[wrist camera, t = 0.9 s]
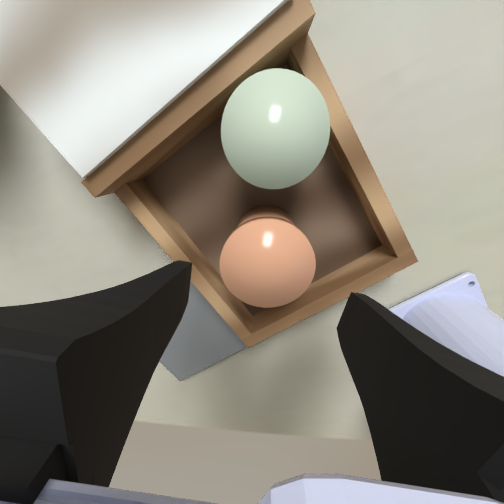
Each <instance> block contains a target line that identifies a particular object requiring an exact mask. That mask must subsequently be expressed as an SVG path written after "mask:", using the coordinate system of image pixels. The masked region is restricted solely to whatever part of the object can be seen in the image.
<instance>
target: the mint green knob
mask: <svg viewBox="0 0 504 504" xmlns="http://www.w3.org/2000/svg"><path fill="white" fill-rule="evenodd" d="M329 137H330V117H329V112H328V108H327V105H326V102H325V100H324V98H323V96H322V94H321V93H320V91H319V90H318V88H317V87H316V86H315V85H314V84H313V83H312V82H311V81H310V80H309V79H308V78H306V77H305V76H303V75H301V74H299V73H297V72H295V71H292V70H288V69H281V68H274V69H267V70H263V71H260V72H257V73H255V74H254V75H252V76H250V77H248V78H247V79H246V80H244V81H243V82H242V83H241V84H240V85H239V86H238V87H237V88H236V89H235V91H234V92H233V93H232V95H231V97H230V98H229V100H228V102H227V104H226V106H225V109H224V113H223V116H222V122H221V140H222V146H223V149H224V153H225V155H226V157H227V160H228V161H229V163H230V165H231V166H232V168H233V169H234V170H235V172H236V173H237V174H238V175H239V176H240V177H242V178H243V179H244V180H245V181H247V182H249V183H250V184H252V185H255V186H257V187H261V188H265V189H282V188H286V187H290V186H292V185H295V184H297V183H299V182H300V181H302V180H304V179H305V178H306V177H308V176H309V175H310V174H311V173H312V172H313V171H314V170H315V168H316V167H317V166H318V164H319V163H320V161H321V160H322V158H323V156H324V154H325V151H326V148H327V145H328V141H329Z"/></svg>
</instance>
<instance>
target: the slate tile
mask: <svg viewBox="0 0 504 504" xmlns="http://www.w3.org/2000/svg"><path fill="white" fill-rule="evenodd" d="M246 347H247V346H246V345H245V344H244V342H243V341H242V340H241V339H240V338H239V337H238V335H237V334H236V333H235V332H234V331H233V330H232V328H231V327H230V326H229V325H228V324H227V323H226V322H225V320H224V319H223V318H222V317H221V316H220V315H219V313H218V312H217V311H216V310H215V309H214V308H213V306H212V305H211V304H210V303H209V302H208V301H207V299H206V298H205V297H204V296H203V295H202V294H201V292H200V291H199V290H198V289H197V288H196V287H195V285H194V284H193V283H192V282H191V281H190V290H189V299H188V304H187V306H186V309H185V312H184V314H183V317H182V320H181V322H180V324H179V326H178V327H177V329H176V331H175V333H174V335H173V337H172V339H171V340H170V342H169V344H168V346H167V348H166V350H165V351H164V353H163V355H162V357H161V359H160V362H161V363H162V364H163V365H164V366H165V367H166V368H167V369H168V370H169V371H170V372H171V373H172V374H173V375H174V376H175V377H176V378H177V379H178V380H179V381H181V380H183V379H185V378H187V377H189V376H191V375H193V374H195V373H197V372H199V371H201V370H203V369H205V368H207V367H209V366H211V365H213V364H215V363H217V362H219V361H221V360H223V359H225V358H227V357H229V356H230V355H232V354H234V353H236V352H238V351H240V350H242V349H244V348H246Z"/></svg>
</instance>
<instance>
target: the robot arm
mask: <svg viewBox="0 0 504 504" xmlns="http://www.w3.org/2000/svg"><path fill="white" fill-rule="evenodd" d="M191 271H192V263H191V262H186V261H181V260H178V261H175V262H173V263H171V264H168V265H166V266H164V267H162V268H160V269H158V270H156V271H153V272H151V273H149V274H147V275H144V276H142V277H139V278H137V279H134V280H132V281H129V282H127V283H124V284H121V285H118V286H115V287H112V288H108V289H105V290H101V291H98V292H94V293H89V294H85V295H80V296H76V297H71V298H66V299H61V300H55V301H49V302H42V303H35V304H27V305H19V306H8V307H0V504H216V503H210V502H203V501H196V500H189V499H183V498H176V497H169V496H162V495H156V494H149V493H142V492H136V491H129V490H122V489H115V488H109V484H110V482H111V479H112V476H113V473H114V471H115V468H116V465H117V462H118V460H119V457H120V455H121V452H122V450H123V447H124V444H125V441H126V439H127V437H128V434H129V431H130V429H131V426H132V424H133V421H134V419H135V416H136V414H137V411H138V409H139V406H140V404H141V401H142V399H143V396H144V394H145V392H146V389H147V387H148V384H149V382H150V380H151V377H152V375H153V373H154V371H155V368H156V366H157V364H158V362H159V361H160V359H161V357H162V355H163V353H164V351H165V350H166V348H167V346H168V344H169V342H170V340H171V339H172V337H173V335H174V333H175V331H176V329H177V327H178V326H179V324H180V322H181V320H182V317H183V314H184V312H185V309H186V306H187V304H188V299H189V290H190V281H191ZM469 282H471V283H470V284H468V283H469ZM337 332H338V337H339V342H340V346H341V349H342V352H343V355H344V358H345V360H346V363H347V365H348V368H349V371H350V373H351V376H352V378H353V381H354V383H355V386H356V389H357V391H358V394H359V396H360V399H361V402H362V405H363V408H364V411H365V415H366V418H367V422H368V426H369V429H370V433H371V437H372V441H373V445H374V449H375V453H376V457H377V461H378V465H379V470H380V475H381V480H382V481H380V480H374V479H367V478H361V477H355V476H348V475H341V474H302V475H299V476H296V477H293V478H290V479H287V480H284V481H282V482H278V483H276V484H275V485H274V486H273V487H272V488H271V489H270V490H269V491H268V492H267V493H266V494H265V495H264V496H263V497H262V499H261V500H260V501H259V502H258V503H257V504H504V319H502V318H501V317H499V316H498V315H496V314H495V313H494V312H492V311H491V310H489V308H488V306H487V303H486V301H485V298H484V296H483V293H482V291H481V288H480V286H479V283H478V281H477V278H476V276H475V275H474V274H472V273H470V272H466V273H463V274H461V275H459V276H457V277H455V278H453V279H450V280H448V281H446V282H444V283H442V284H440V285H438V286H436V287H434V288H432V289H429V290H427V291H425V292H423V293H421V294H419V295H417V296H415V297H413V298H411V299H408V300H406V301H404V302H402V303H400V304H398V305H396V306H394V307H392V308H389V309H387V308H385V307H384V306H382V305H381V304H380V303H378V302H376V301H375V300H373V299H372V298H370V297H368V296H366V295H364V294H359V293H354V292H351V293H350V296H349V298H348V301H347V303H346V306H345V308H344V311H343V313H342V316H341V319H340V321H339V324H338V326H337Z"/></svg>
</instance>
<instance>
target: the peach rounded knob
mask: <svg viewBox="0 0 504 504" xmlns="http://www.w3.org/2000/svg"><path fill="white" fill-rule="evenodd" d="M219 265H220V273H221V277H222V279H223V282H224V284H225V285H226V287H227V288H228V290H229V291H230V292H231V293H232V294H233V295H234V296H235V297H236V298H238V299H239V300H241V301H243V302H245V303H247V304H249V305H252V306H256V307H263V308H272V307H278V306H282V305H285V304H288V303H290V302H292V301H294V300H295V299H297V298H298V297H300V296H301V295H302V294H303V293H304V292H305V291H306V290H307V288H308V287H309V285H310V284H311V282H312V280H313V277H314V274H315V268H316V259H315V254H314V251H313V248H312V246H311V244H310V242H309V240H308V238H307V237H306V235H305V234H304V233H303V232H302V231H301V230H300V228H298V227H297V226H296V224H295V222H294V220H293V219H292V217H291V216H290V215H289V214H288V213H287V212H286V211H284V210H283V209H281V208H278V207H276V206H271V205H262V206H257V207H254V208H252V209H250V210H248V211H247V212H246V213H244V214H243V215H242V217H241V218H240V219H239V221H238V223H237V225H236V228H235V230H234V231H233V232H232V233H231V234H230V235H229V237H228V238H227V240H226V242H225V244H224V247H223V249H222V252H221V256H220V264H219Z"/></svg>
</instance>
